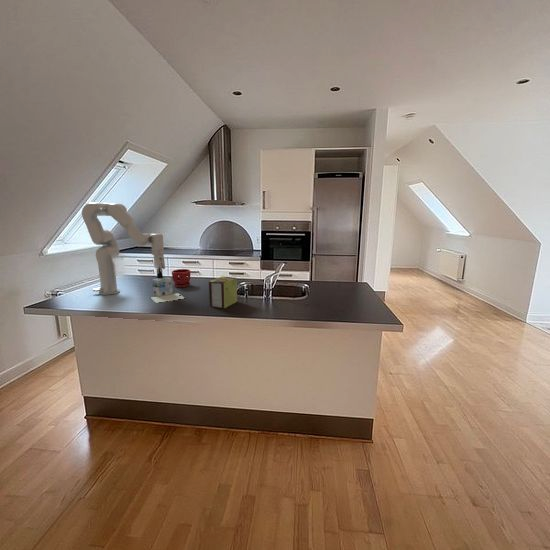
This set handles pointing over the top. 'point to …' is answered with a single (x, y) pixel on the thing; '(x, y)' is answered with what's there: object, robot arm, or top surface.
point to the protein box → (223, 291)
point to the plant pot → (181, 277)
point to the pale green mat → (166, 298)
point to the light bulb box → (162, 286)
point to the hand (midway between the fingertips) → (160, 278)
